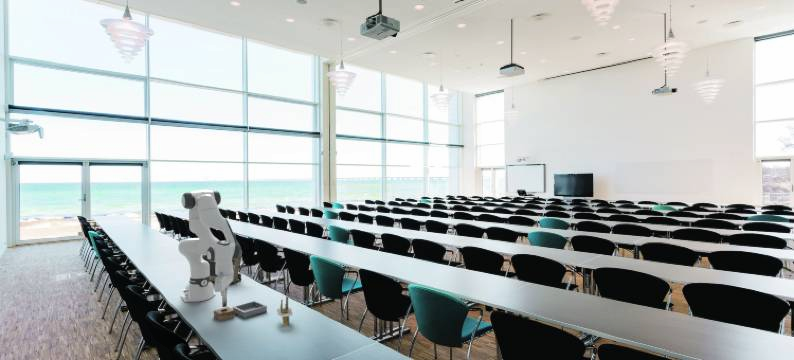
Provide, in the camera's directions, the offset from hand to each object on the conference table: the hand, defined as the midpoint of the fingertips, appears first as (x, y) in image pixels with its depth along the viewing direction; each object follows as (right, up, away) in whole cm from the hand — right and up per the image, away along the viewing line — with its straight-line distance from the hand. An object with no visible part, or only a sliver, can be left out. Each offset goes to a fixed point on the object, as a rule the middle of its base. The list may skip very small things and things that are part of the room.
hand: (224, 294), depth 211 cm
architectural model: (+37, -14, -9) cm, 40 cm away
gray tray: (+11, -13, +7) cm, 19 cm away
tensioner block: (0, -13, 0) cm, 13 cm away
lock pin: (0, -7, 0) cm, 7 cm away
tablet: (-36, -12, +72) cm, 81 cm away
